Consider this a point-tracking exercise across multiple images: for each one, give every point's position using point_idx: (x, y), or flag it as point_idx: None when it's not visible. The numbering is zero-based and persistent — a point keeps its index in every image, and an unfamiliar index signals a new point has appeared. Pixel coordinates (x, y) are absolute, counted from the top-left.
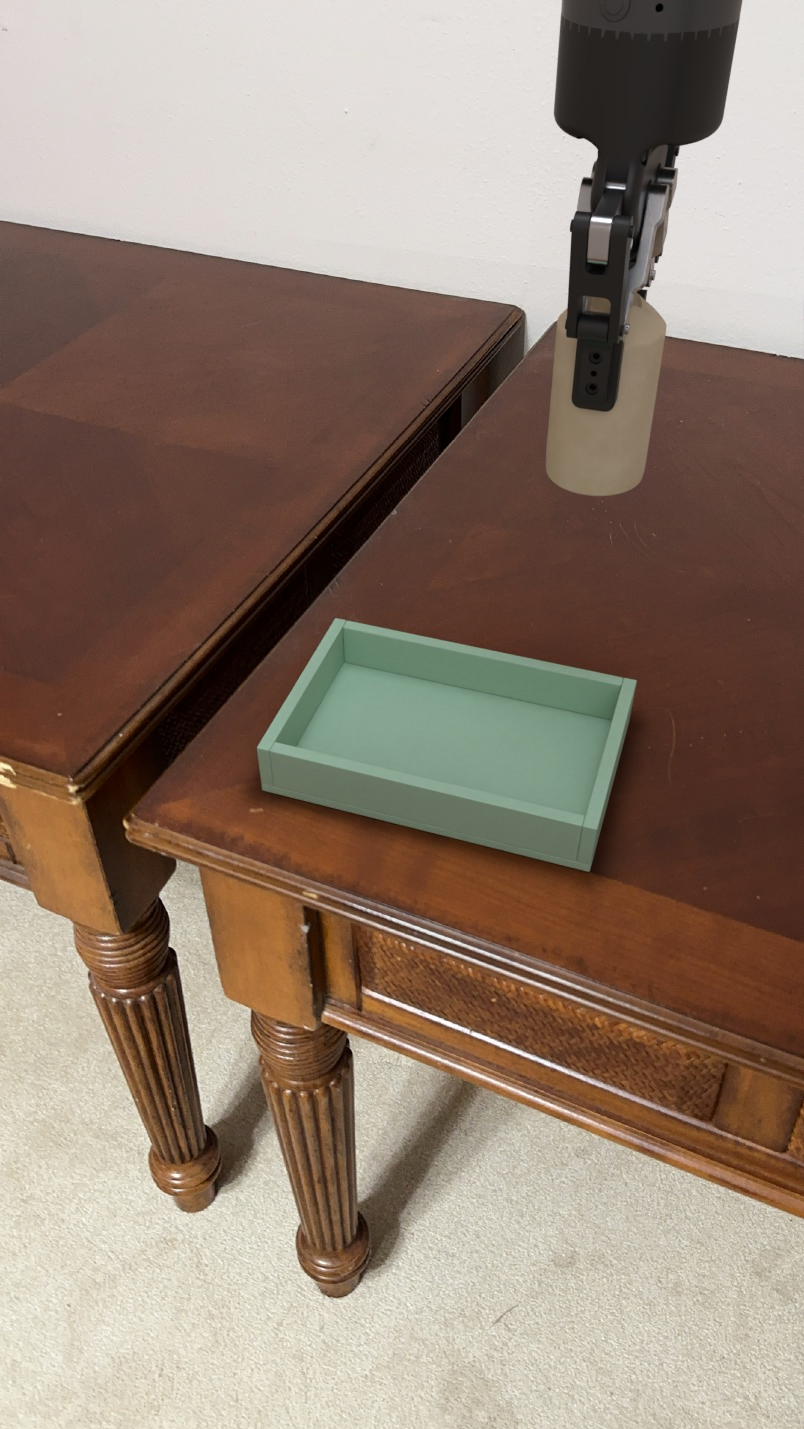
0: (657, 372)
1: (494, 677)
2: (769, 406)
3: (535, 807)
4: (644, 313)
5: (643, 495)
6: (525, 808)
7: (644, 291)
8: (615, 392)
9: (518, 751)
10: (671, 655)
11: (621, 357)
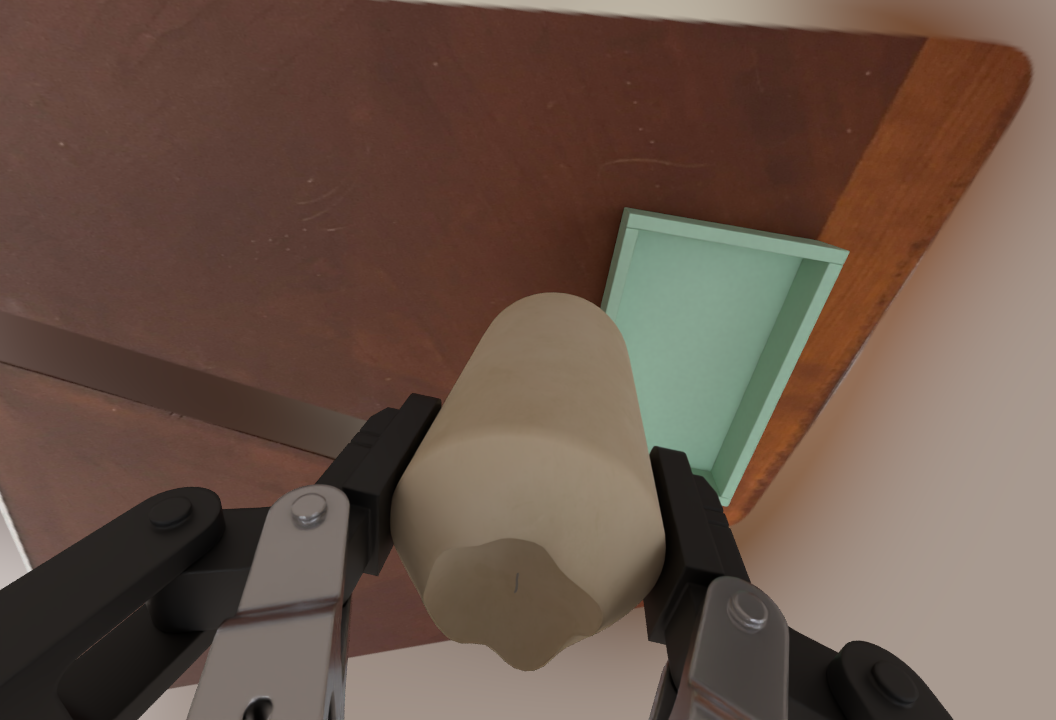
0: (580, 386)
1: None
2: None
3: (814, 307)
4: (562, 530)
5: (239, 192)
6: (815, 315)
7: (356, 494)
8: (690, 473)
9: (679, 309)
10: (515, 161)
11: (697, 529)
